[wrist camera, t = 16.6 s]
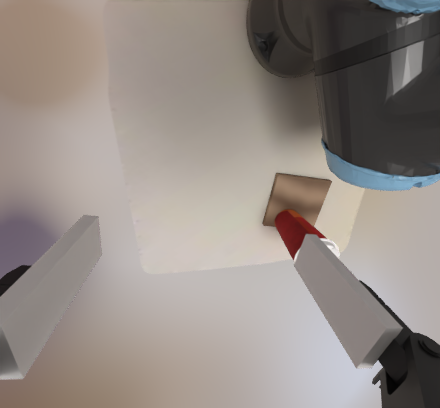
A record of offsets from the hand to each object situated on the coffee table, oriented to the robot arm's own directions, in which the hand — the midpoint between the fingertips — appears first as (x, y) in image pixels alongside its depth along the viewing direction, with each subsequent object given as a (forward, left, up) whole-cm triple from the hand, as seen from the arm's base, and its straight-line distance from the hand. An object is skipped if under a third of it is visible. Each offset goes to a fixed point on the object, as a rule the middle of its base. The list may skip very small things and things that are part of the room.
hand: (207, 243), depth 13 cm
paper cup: (+12, +21, -28) cm, 37 cm away
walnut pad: (+8, +22, -29) cm, 37 cm away
